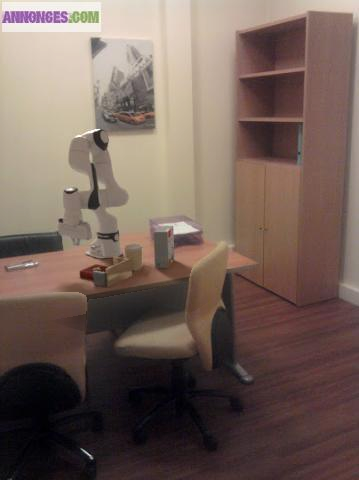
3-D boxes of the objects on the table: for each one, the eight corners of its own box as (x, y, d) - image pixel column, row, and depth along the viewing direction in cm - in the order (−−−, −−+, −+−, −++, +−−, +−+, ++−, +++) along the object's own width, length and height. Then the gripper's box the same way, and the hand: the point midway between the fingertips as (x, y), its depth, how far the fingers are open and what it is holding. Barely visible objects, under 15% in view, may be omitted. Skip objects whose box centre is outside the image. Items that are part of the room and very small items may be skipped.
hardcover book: (110, 285, 225) (109, 277, 224) (79, 277, 237) (79, 270, 236) (126, 277, 235) (125, 269, 234) (96, 271, 246) (95, 263, 245)
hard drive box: (168, 268, 245) (167, 232, 239) (154, 268, 246) (152, 232, 241) (174, 259, 259) (173, 225, 254) (161, 259, 261) (159, 224, 255)
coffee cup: (146, 267, 248) (145, 245, 245) (134, 271, 242) (132, 249, 238) (134, 263, 254) (133, 243, 251) (122, 268, 247) (120, 247, 244)
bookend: (94, 284, 225) (92, 271, 223) (96, 283, 226) (95, 270, 224) (105, 287, 221) (103, 273, 219) (107, 286, 223) (105, 272, 221)
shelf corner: (93, 283, 227) (91, 265, 225) (116, 272, 241) (114, 256, 239) (109, 286, 222) (108, 269, 219) (132, 275, 236) (130, 258, 234)
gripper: (93, 220, 233) (95, 246, 237) (63, 215, 243) (66, 240, 248) (84, 224, 228) (87, 250, 232) (55, 218, 238) (58, 244, 242)
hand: (76, 245), depth 240 cm, fingers closed
